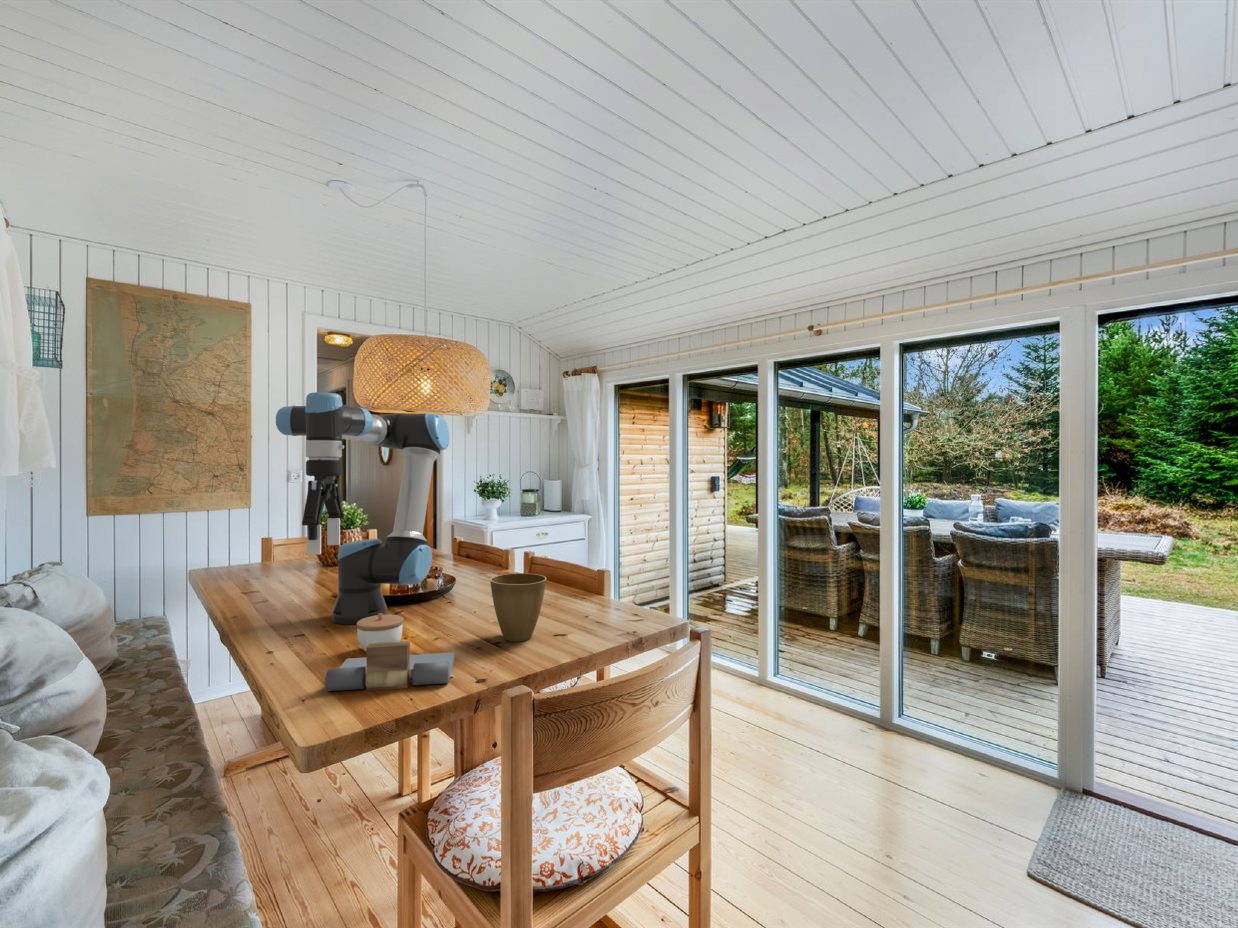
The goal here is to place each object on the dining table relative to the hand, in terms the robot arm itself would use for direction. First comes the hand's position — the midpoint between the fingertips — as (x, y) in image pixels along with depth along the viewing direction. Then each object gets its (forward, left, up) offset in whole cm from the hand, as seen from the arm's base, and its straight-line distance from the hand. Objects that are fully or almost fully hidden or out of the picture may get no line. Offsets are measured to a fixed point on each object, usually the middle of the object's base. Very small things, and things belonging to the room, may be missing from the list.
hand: (324, 549), depth 131 cm
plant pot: (-11, +45, -27) cm, 54 cm away
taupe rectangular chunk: (+17, +18, -27) cm, 36 cm away
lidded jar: (-6, +11, -27) cm, 30 cm away
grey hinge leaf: (+12, +18, -27) cm, 34 cm away
